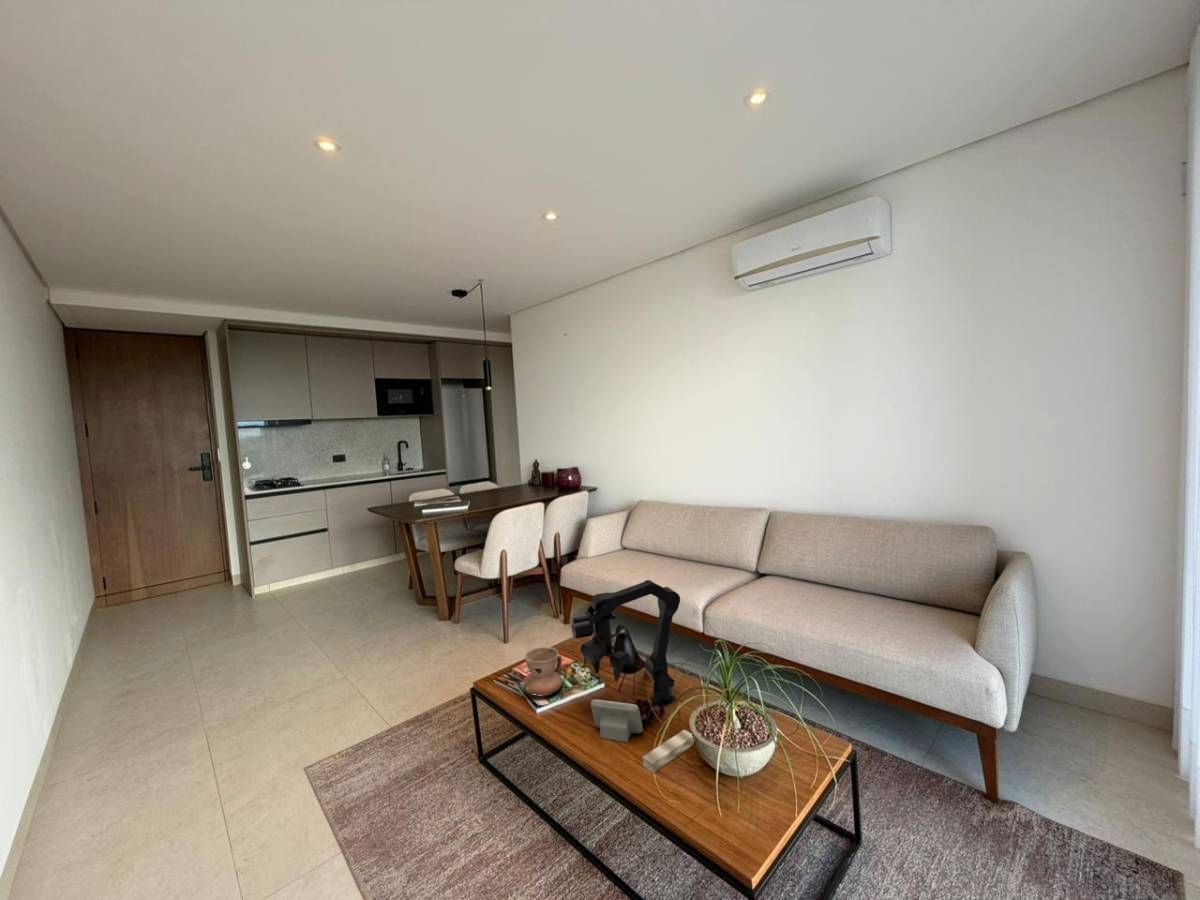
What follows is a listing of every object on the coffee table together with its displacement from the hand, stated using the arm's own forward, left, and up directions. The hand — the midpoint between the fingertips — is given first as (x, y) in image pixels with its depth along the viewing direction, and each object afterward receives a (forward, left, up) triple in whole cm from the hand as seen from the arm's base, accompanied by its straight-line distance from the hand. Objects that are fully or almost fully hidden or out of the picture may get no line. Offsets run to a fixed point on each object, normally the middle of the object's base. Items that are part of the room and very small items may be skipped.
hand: (606, 677), depth 168 cm
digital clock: (+6, +10, -13) cm, 17 cm away
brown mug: (+6, -29, -13) cm, 32 cm away
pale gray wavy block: (+3, +29, -13) cm, 32 cm away
